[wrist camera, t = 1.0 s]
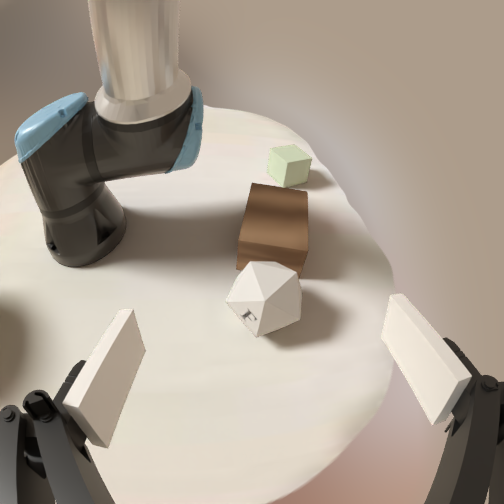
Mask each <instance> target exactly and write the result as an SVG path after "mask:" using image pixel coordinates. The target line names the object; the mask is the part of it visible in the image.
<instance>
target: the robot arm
mask: <svg viewBox="0 0 504 504" xmlns="http://www.w3.org/2000/svg"><path fill="white" fill-rule="evenodd" d="M88 6H89V13H90V20H91V27H92V33H93V38H94V44H95V49H96V54H97V60H98V64H99V69H100V74H101V78H102V83H103V86H102V87H101V88H100V89H99V91H98V93H97V95H96V98H95V101H93V102H88V97H87V96H86V94H85V93H83V92H80V93H75V94H71V95H68V96H66V97H63V98H61V99H59V100H57V101H55V102H53V103H51V104H49V105H47V106H46V107H44V108H42V109H41V110H39V111H38V112H36V113H35V114H34V115H32V116H31V117H30V118H28V119H27V120H26V121H25V122H24V123H23V124H22V125H21V126H20V127H19V129H18V130H17V132H16V135H15V145H16V150H17V154H18V158H19V163H21V166H22V169H23V171H24V174H25V176H26V179H27V181H28V184H29V186H30V189H31V191H32V193H33V196H34V198H35V200H36V203H37V205H38V207H39V209H40V211H41V213H42V217H43V225H44V233H45V240H46V245H47V247H48V249H49V251H50V253H51V255H52V256H53V258H54V259H55V260H56V261H57V262H58V263H60V264H62V265H65V266H71V267H76V266H83V265H87V264H90V263H93V262H95V261H97V260H99V259H101V258H102V257H104V256H105V255H107V254H108V253H109V252H111V251H112V250H113V249H114V248H115V247H116V245H117V244H118V243H119V242H120V240H121V239H122V237H123V235H124V232H125V229H126V219H125V215H124V212H123V209H122V207H121V205H120V203H119V202H118V201H117V199H116V198H115V197H114V195H113V194H112V193H111V191H110V190H109V189H108V187H107V186H106V184H105V181H111V180H117V179H124V178H131V177H138V176H145V175H153V174H161V173H165V174H166V173H170V172H172V171H176V170H182V169H187V168H189V167H191V166H192V165H193V164H194V163H195V161H196V160H197V157H198V154H199V150H200V145H201V139H202V123H203V99H202V93H201V90H200V89H199V88H198V87H194V86H191V81H190V79H189V77H188V75H187V74H186V73H184V72H183V71H181V70H180V69H178V39H179V36H178V35H179V11H180V0H88ZM381 338H382V340H383V341H384V343H385V344H386V346H387V348H388V349H389V351H390V353H391V354H392V356H393V358H394V359H395V361H396V362H397V364H398V366H399V368H400V369H401V371H402V372H403V374H404V376H405V378H406V379H407V381H408V383H409V385H410V387H411V388H412V390H413V392H414V394H415V395H416V397H417V399H418V401H419V403H420V404H421V406H422V408H423V410H424V412H425V414H426V415H427V417H428V419H429V421H430V423H431V425H432V426H433V425H435V424H438V423H441V422H443V421H445V420H446V419H447V418H448V416H449V414H450V413H451V412H452V413H453V415H454V418H453V419H452V421H451V422H450V424H449V425H448V427H447V428H446V430H445V432H447V431H448V430H449V428H450V430H449V434H448V438H447V442H446V445H445V448H444V452H443V455H442V458H441V462H440V464H439V467H438V471H437V473H436V476H435V479H434V481H433V484H432V487H431V489H430V492H429V494H428V496H427V499H426V501H425V503H424V504H484V503H485V500H486V496H487V492H488V488H489V504H504V382H498V381H497V380H496V379H495V378H494V377H492V376H489V375H483V376H482V375H480V373H479V372H478V370H477V369H476V368H475V367H474V365H473V364H472V363H471V362H470V361H469V359H468V358H467V357H465V354H464V353H463V352H462V351H460V348H459V347H458V346H457V345H456V344H455V343H454V342H453V341H451V340H449V339H448V338H443V339H442V338H441V337H440V335H439V334H438V333H437V332H436V331H435V329H434V328H433V327H432V326H431V325H430V324H429V323H428V321H427V320H426V319H425V318H424V317H423V316H422V315H421V313H420V312H419V311H418V310H417V309H416V308H415V307H414V306H413V304H412V303H411V302H410V301H409V300H408V299H407V298H406V297H405V296H404V295H403V294H402V293H401V294H393V295H390V298H389V303H388V308H387V313H386V318H385V322H384V327H383V331H382V335H381ZM145 352H146V350H145V347H144V344H143V341H142V338H141V334H140V331H139V328H138V324H137V321H136V318H135V314H134V310H133V309H120V310H119V312H118V313H117V315H116V316H115V318H114V319H113V321H112V322H111V324H110V325H109V327H108V328H107V330H106V331H105V333H104V334H103V336H102V337H101V339H100V341H99V342H98V344H97V345H96V347H95V348H94V350H93V352H92V353H91V355H90V357H89V358H88V360H87V361H84V360H81V361H80V362H79V363H77V364H76V365H75V366H74V367H73V368H72V370H71V372H70V373H69V376H67V378H66V380H65V382H64V383H63V385H62V386H61V388H60V390H59V391H58V393H57V395H56V396H55V398H54V400H53V401H52V399H51V398H50V396H49V395H48V393H47V392H45V391H44V390H35V391H32V392H31V393H29V394H28V395H27V396H26V397H25V399H24V401H23V408H24V409H25V410H26V412H27V413H22V412H21V411H20V410H19V409H18V407H16V406H15V405H8V406H6V407H4V408H3V409H2V410H1V411H0V504H55V500H56V503H57V504H115V502H114V500H113V499H112V497H111V495H110V493H109V491H108V490H107V488H106V486H105V484H104V482H103V480H102V478H101V476H100V474H99V472H98V470H97V468H96V466H95V464H94V461H93V459H92V457H91V455H90V452H89V450H88V448H87V446H86V445H85V441H86V438H88V439H89V441H90V442H91V443H92V444H93V445H96V446H100V447H104V448H108V447H109V445H110V442H111V439H112V436H113V433H114V430H115V428H116V425H117V422H118V420H119V417H120V414H121V411H122V409H123V406H124V404H125V401H126V398H127V396H128V393H129V391H130V388H131V386H132V383H133V381H134V378H135V376H136V373H137V371H138V368H139V366H140V364H141V361H142V359H143V356H144V354H145Z"/></svg>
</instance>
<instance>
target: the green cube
mask: <svg viewBox="0 0 504 504" xmlns="http://www.w3.org/2000/svg"><path fill="white" fill-rule="evenodd" d="M311 161H312V158H311V157H310V156H309V155H308V154H306V153H305V152H304V151H302V150H301V149H300V148H298V147H297V146H296V145H288V146H281V147H275V148H270V154H269V161H268V168H267V173H268V174H269V175H270V176H271V177H272V178H273V179H274V180H275V181H276V182H277V183H278V184H279V185H280V186H281V187H283V188H286V187H290V186H294V185H298V184H302V183H306V182H307V178H308V174H309V170H310V165H311Z"/></svg>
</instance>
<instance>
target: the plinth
mask: <svg viewBox="0 0 504 504" xmlns="http://www.w3.org/2000/svg"><path fill="white" fill-rule="evenodd" d="M307 253H308V194H307V192H306V191H300V190H295V189H289V188H283V187H276V186H270V185H263V184H256V183H252V185H251V189H250V193H249V197H248V201H247V206H246V210H245V214H244V218H243V222H242V226H241V231H240V235H239V239H238V252H237V267H236V269H237V270H243V269H244V268H245V267H246V266H247V264H248V263H249V262H250V261H265V262H277V263H279V264H281V265H283V266H285V267H287V268H289V269H291V270H293V271H295V272H297V275H298V279H299V277H300V274H301V271H302V268H303V265H304V262H305V259H306V256H307Z"/></svg>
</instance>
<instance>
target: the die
mask: <svg viewBox="0 0 504 504" xmlns="http://www.w3.org/2000/svg"><path fill="white" fill-rule="evenodd" d="M226 303H227V304H228V306H229V307H230V308H231V309H232V310H233V312H234V313H235V314H236V315H237V316H238V318H239V319H240V320H241V321H242V322H243V323H244V324H245V326H246V327H247V328H248V329H249V330H250V331H251V332H252V333H253V334H254V336H255V337H259V336H262V335H265V334H267V333H270V332H273V331H275V330H278V329H281V328H283V327H285V326H287V325H290V324H292V323H294V322H296V321H298V320H300V318H301V304H302V290H301V286H300V283H299V279H298V275H297V272H295V271H293V270H291V269H289V268H287V267H285V266H283V265H281V264H279V263H277V262H265V261H250V262H249V263H248V264H247V266H246V267H245V268H244V269H243V270H242V272H241V273H240V274H239V275H238V276H237V278H236V280H235V282H234V284H233V286H232V288H231V291H230V293H229V295H228V297H227V299H226Z"/></svg>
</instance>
